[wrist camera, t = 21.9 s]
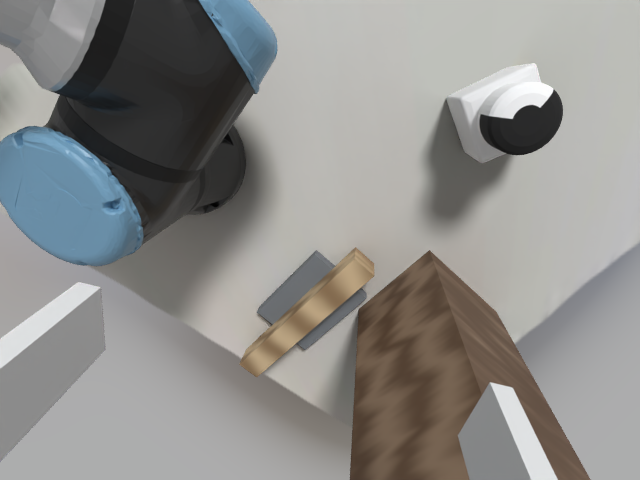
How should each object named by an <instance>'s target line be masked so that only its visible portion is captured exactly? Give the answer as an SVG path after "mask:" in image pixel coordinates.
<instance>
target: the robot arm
mask: <svg viewBox="0 0 640 480" xmlns="http://www.w3.org/2000/svg"><path fill="white" fill-rule="evenodd" d="M0 44H1V45H3V46H5V47H8V48H10V49H11V50H12V51H14V53H16V54H17V55H18V56H19V57H20V59H21V60H22V61H23V63H24V64H25V66H26V67H27V69H28V70H29V72H30V73H31V74H32V76H33V77H34V79H35V80H36V82H37V83H38V85H39V86H41V87H42V88H43V89H46V90H49V91H51V92H54V93H57V94H60V96H59V98H58V100H57V103H56V105H55V108H54V110H53V112H52V115H51V117H50V119H49V121H48V123H47V124H46V125H45V126H44V127H37V126H28V127H25V128H23V129H20V130H18V131H17V132H15V133H12V134H10V135H8V136H7V137H5V138H4V139H3V140H2V141H1V142H0V202H1V204H2V205H3V206H4V207H5V209H6V210H7V212H8V214H9V216H10V218H11V219H12V221H13V222H14V223H15V224H16V226H17V227H18V228H19V229H20V230H21V231H22V232H23V233H24V234H25V235H26V236H27V237H28V238H29V239H31V241H33V242H34V243H35V244H36V245H38V246H39V247H40V248H42V249H43V250H45V251H46V252H48V253H50V254H52V255H53V256H55V257H57V258H59V259H62V260H64V261H67V262H70V263H73V264H77V265H92V266H102V265H107V264H110V263H112V262H114V261H116V260H118V259H120V258H122V257H124V256H126V255H129V254H132V253H134V252H135V251H136V250H138V249H139V248H140V246H141V245H142V244H144V243H145V242H147V241H148V240H149V239H151V238H152V237H154V236H155V235H157V234H158V233H160V232H161V231H162V230H164V229H165V228H167V227H168V226H170V225H171V224H173V223H174V222H175V221H177V220H178V219H180V218H181V217H183V216H184V215H196V214H204V213H208V212H211V211H214V210H216V209H218V208H219V207H221V206H222V205H224V204H225V203H226V202H228V201H229V200H230V199H231V198H232V197H233V196H234V195H235V194H236V192H237V191H238V189H239V188H240V186H241V183H242V181H243V178H244V174H245V152H244V147H243V144H242V141H241V138H240V136H239V134H238V132H237V130H236V129H235V127H234V126H233V124H234V122H235V121H236V119H237V118H238V116H239V115H240V113H241V112H242V110H243V109H244V107H245V106H246V104H247V103H248V101H249V100H250V98H251V97H252V95H253V94H257V93H258V91H259V85H260V83H261V81H262V80H263V78H264V76H265V75H266V73H267V71H268V70H269V68H270V66H271V65H272V63H273V61H274V59H275V57H276V54H277V39H276V36H275V34H274V31H273V30H272V28H271V27H270V25H269V24H268V23H267V22H266V20H265V19H264V18H263V17H262V16H261V15H260V13H259V12H258V11H257V10H256V9H255V8H254V7H253V5H252V4H251V3H250V2H249V1H248V0H0ZM102 310H103V309H102V296H101V287H97V286H93V285H89V284H84V283H80V282H77V283H76V284H75V285H73V286H72V287H71V288H69V289H68V290H66V291H65V292H64V293H62V294H61V295H60V296H58V297H57V298H55V299H54V300H53V301H51V302H50V303H49V304H47V305H46V306H44V307H43V308H42V309H40V310H39V311H38V312H36V313H35V314H33V315H32V316H31V317H29V318H28V319H26V320H25V321H24V322H22V323H21V324H20V325H18V326H17V327H16V328H14V329H13V330H11V331H10V332H9V333H7V334H6V335H5V336H3V337H2V338H0V462H1V461H2V460H3V458H4V457H5V456H6V455H7V454H8V453H9V452H10V451H11V450H12V449H13V448H14V447H15V446H16V444H18V442H19V441H20V440H21V439H22V438H23V437H24V436H25V435H26V434H27V433H28V432H29V431H30V429H31V428H32V427H33V426H34V425H35V424H36V423H37V422H38V421H39V420H40V419H41V418H42V417H43V416H44V415H45V414H46V412H47V411H48V410H49V409H50V408H51V407H52V406H53V405H54V404H55V403H56V402H57V401H58V400H59V399H60V398H61V397H62V395H63V394H64V393H65V392H66V391H67V390H68V389H69V388H70V387H71V386H72V385H73V384H74V383H75V382H76V381H77V379H78V378H79V377H80V376H81V375H82V374H83V373H84V372H85V371H86V370H87V369H88V368H89V367H90V365H91V364H92V363H93V362H94V361H95V360H96V359H97V358H98V357H99V356H100V355H101V354H102V353H103V352H104V351H105V336H104V324H103V323H104V322H103V311H102ZM458 438H459V442H460V446H461V449H462V453H463V457H464V460H465V464H466V468H467V472H468V475H469V479H470V480H558V479H557V477H556V475H555V473H554V471H553V469H552V467H551V465H550V463H549V461H548V459H547V457H546V455H545V453H544V451H543V449H542V446H541V444H540V442H539V440H538V438H537V436H536V434H535V432H534V430H533V428H532V426H531V424H530V422H529V420H528V418H527V416H526V414H525V412H524V410H523V408H522V406H521V404H520V402H519V400H518V397H517V395H516V393H515V391H514V389H513V388H512V387H508V386H504V385H500V384H496V383H491V382H490V383H489V384H488V386H487V388H486V389H485V391H484V393H483V394H482V396H481V398H480V399H479V401H478V403H477V404H476V406H475V408H474V409H473V411H472V413H471V414H470V416H469V418H468V419H467V421H466V423H465V424H464V426H463V428H462V429H461V431H460V433H459V434H458Z"/></svg>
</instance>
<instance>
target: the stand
mask: <svg viewBox="0 0 640 480" xmlns="http://www.w3.org/2000/svg"><path fill="white" fill-rule="evenodd" d="M490 382H491V383H496V384H500V385H504V386H508V387H512V388H513V389H514V391H515V393H516V395H517V397H518V400H519V402H520V404H521V406H522V408H523V410H524V412H525V414H526V416H527V418H528V420H529V422H530V424H531V426H532V428H533V430H534V432H535V434H536V436H537V438H538V440H539V442H540V444H541V446H542V449H543V451H544V453H545V455H546V457H547V459H548V461H549V463H550V465H551V467H552V469H553V471H554V473H555V475H556V477H557V479H558V480H590V478H589V476H588V475H587V472H586V471H585V469H584V468H583V466H582V464H581V462H580V460H579V458H578V456H577V455H576V453H575V451H574V450H573V448H572V446H571V444H570V442H569V440H568V439H567V437H566V435H565V433H564V432H563V430H562V428H561V426H560V424H559V423H558V421H557V419H556V417H555V415H554V414H553V412H552V410H551V408H550V407H549V405H548V403H547V401H546V399H545V398H544V396H543V394H542V392H541V391H540V389H539V387H538V385H537V383H536V382H535V380H534V378H533V376H532V375H531V373H530V371H529V369H528V368H527V366H526V364H525V362H524V360H523V359H522V357H521V355H520V353H519V351H518V350H517V348H516V346H515V344H514V343H513V341H512V339H511V337H510V335H509V334H508V332H507V330H506V328H505V326H504V325H503V323H502V321H501V319H500V318H499V316H498V314H497V312H496V311H495V310H494V309H493V308H491V307H490V306H489V305H488V304H487V303H486V302H485V301H484V300H483V299H482V298H481V297H480V296H478V295H477V294H476V293H475V292H474V291H473V290H472V289H471V288H470V287H469V286H468V285H467V284H465V283H464V282H463V281H462V280H461V279H460V278H459V277H458V276H457V275H456V274H455V273H454V272H452V271H451V270H450V269H449V268H448V267H447V266H446V265H445V264H444V263H443V262H442V261H441V260H439V259H438V258H437V257H436V256H435V255H434V254H433V253H432V252H431V251H430V250H429V251H428V252H427V253H426V254H424V255H423V256H422V257H421V258H420V259H418V260H417V261H416V262H415V263H414V264H412V265H411V266H410V267H409V268H408V269H406V270H405V271H404V272H403V273H402V274H400V275H399V276H398V277H397V278H396V279H395V280H393V281H392V282H391V283H390V284H389V285H387V286H386V287H385V288H384V289H383V290H381V291H380V292H379V293H378V294H377V295H375V296H374V297H373V298H372V299H371V300H369V301H368V302H367V303H366V304H365V305H363V306H362V307H361V308H360V309H359V317H358V336H357V354H356V373H355V392H354V411H353V430H352V449H351V468H350V480H470V479H469V475H468V472H467V468H466V464H465V460H464V457H463V453H462V449H461V446H460V442H459V438H458V434H459V433H460V431H461V429H462V428H463V426H464V424H465V423H466V421H467V419H468V418H469V416H470V414H471V413H472V411H473V409H474V408H475V406H476V404H477V403H478V401H479V399H480V398H481V396H482V394H483V393H484V391H485V389H486V388H487V386H488V384H489V383H490Z"/></svg>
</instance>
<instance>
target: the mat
mask: <svg viewBox="0 0 640 480" xmlns="http://www.w3.org/2000/svg"><path fill="white" fill-rule="evenodd" d="M334 267H335V266H334V265H333V264H332V263H331V262H330V261H328V260H327V259H326V258H325V257H324V256H323V255H321V254H320V253H319V252H318V251H317V250H316V251H315V252H314V253H313V254H312V255H311V256H310V257H309V258H308V259H307V260H306V261H305V262H304V263H303V264H302V265H301V266H300V267H299V268H298V269H297V270H296V271H295V272H294V273H293V274H292V275H291V276H290V277H289V278H288V279H287V280H286V281H285V282H284V283H283V284H282V285H281V286H280V287H279V288H278V289H277V290H276V291H275V292H274V293H273V294H272V295H271V296H270V297H269V298H268V299H267V300H266V301H265V302H264V303H263V304H262V305H261V306H260V307H259V309H258V311H257V313H258V314H260V315H261V316H262V317H263V318H265V319H266V320H267V321H269V322H270V323H271V324H272V325H273V324H274V323H275V322H276V321H277V320H278V319H279V318H281V317H282V316H283V315H284V314H285V313H286V312H287V311H288V310H289V309H290V308H291V307H292V306H293V305H294V304H296V303H297V302H298V301H299V300H300V299H301V298H302V297H303V296H304V295H305V294H306V293H307V292H308V291H309V290H311V289H312V288H313V287H314V286H315V285H316V284H317V283H318V282H319V281H320V280H321V279H322V278H323V277H324V276H326V275H327V274H328V273H329V272H330V271H331V270H332V269H333V268H334ZM365 299H366V292H365V291H364V290H362V289H361V288H360V289H359V290H357V291H356V292H355V293H354V294H353V295H352V296H350V297H349V298H348V299H347V300H346V301H345V302H343V303H342V304H341V305H340V306H339V307H338V308H337V309H335V310H334V311H333V312H332V313H331V314H330V315H328V316H327V317H326V318H325V319H324V320H323V321H321V322H320V323H319V324H318V325H317V326H316V327H315V328H313V329H312V330H311V331H310V332H309V333H308V334H306V335H305V336H304V337H303V338H302V339H301V340H299V341H298V342H297V344H298V345H299V346H301V347H302V348H303V349H304V350H306V349H307V348H308V347H309V346H310V345H312V344H313V343H314V342H315V341H316V340H318V339H319V338H320V337H321V336H322V335H324V334H325V333H326V332H327V331H328V330H329V329H331V328H332V327H333V326H334V325H335V324H337V323H338V322H339V321H340V320H341V319H343V318H344V317H345V316H346V315H347V314H348V313H350V312H351V311H352V310H353V309H354V308H356V307H357V306H358V305H359V304H360V303H362V302H363V301H364V300H365Z"/></svg>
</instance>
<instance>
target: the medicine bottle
mask: <svg viewBox="0 0 640 480" xmlns="http://www.w3.org/2000/svg"><path fill="white" fill-rule="evenodd" d="M446 99H447V103H448V106H449V109H450V111H451V114H452V117H453V120H454V123H455V126H456V129H457V132H458V135H459V138H460V141H461V144H462V147H463V150H464V152H465V153H467V154H468V155H469V156H471V157H472V158H474V159H475V160H477V161H478V162H480V163H485V162H487V161H490V160H492V159H495V158H497V157H499V156H502V155H504V154H511V155H524V154H528V153H532V152H534V151H536V150H538V149H540V148H542V147H543V146H544V145H546V144H547V143H548V142H549V141H550V140H551V139H552V138H553V136H554V135H555V134H556V132H557V130H558V128H559V127H560V124H561V121H562V116H563V106H562V102H561V99H560V97H559V95H558V94H557V92H556V91H555V90H554V89H553V88H551V87H550V86H548V85H546V84H543V83H541V80H540V76H539V72H538V68H537V65H536V64H534V63H531V64H525V65H518V66H512V67H507V68H504V69H502V70H500V71H498V72H496V73H494V74H492V75H490V76H488V77H486V78H484V79H482V80H479V81H477V82H475V83H473V84H471V85H469V86H467V87H465V88H463V89H461V90H459V91H456V92H454V93H452V94H450V95H448V96H447V98H446Z"/></svg>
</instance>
